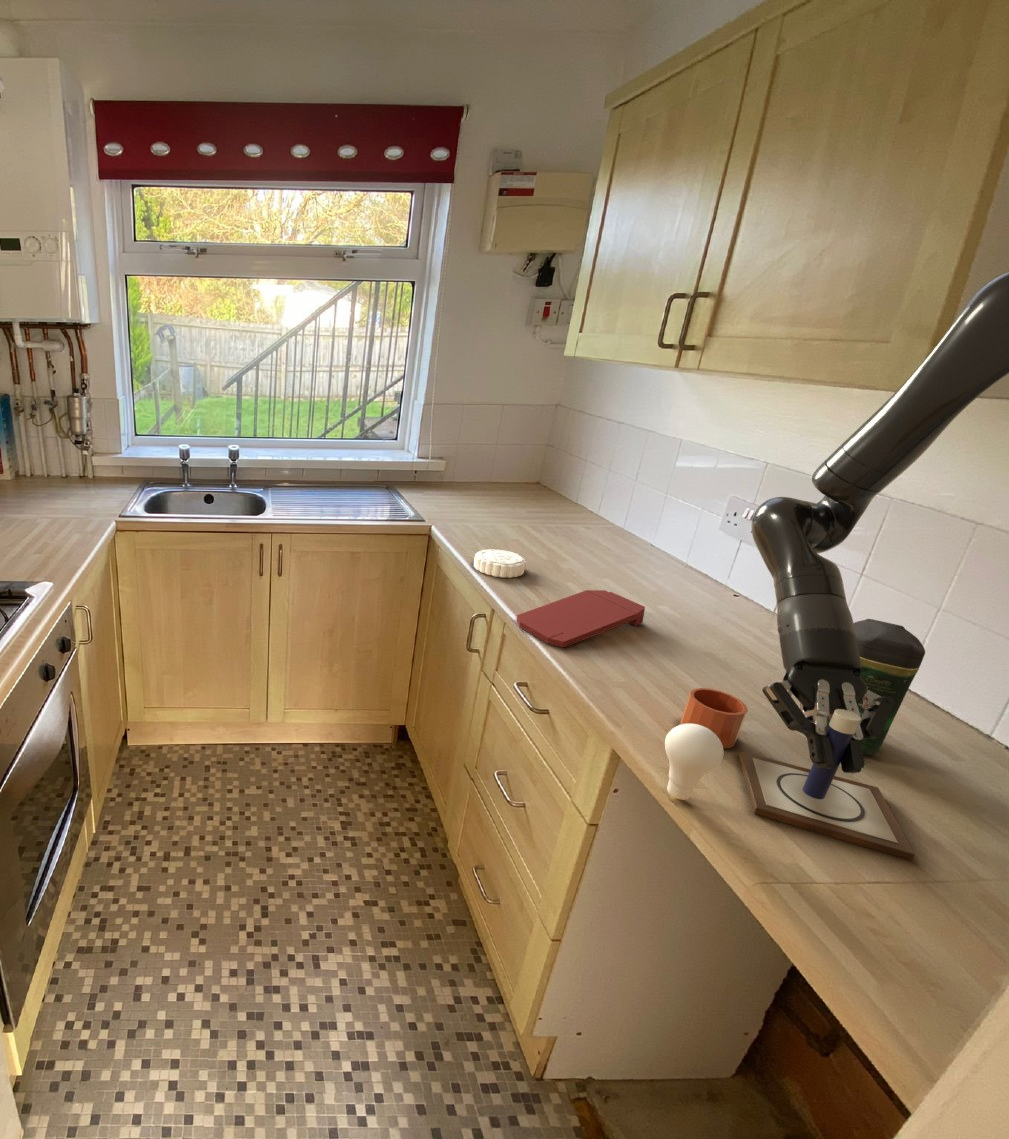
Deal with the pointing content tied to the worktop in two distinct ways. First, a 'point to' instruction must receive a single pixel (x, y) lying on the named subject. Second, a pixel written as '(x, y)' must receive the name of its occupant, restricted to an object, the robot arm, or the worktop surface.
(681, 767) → the lightbulb
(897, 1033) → the worktop surface
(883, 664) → the coffee jar
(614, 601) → the red flat slab
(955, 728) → the worktop surface
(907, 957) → the worktop surface
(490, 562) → the mooncake
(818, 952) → the worktop surface
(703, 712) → the pen pot
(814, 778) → the cylinder
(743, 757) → the picture frame
